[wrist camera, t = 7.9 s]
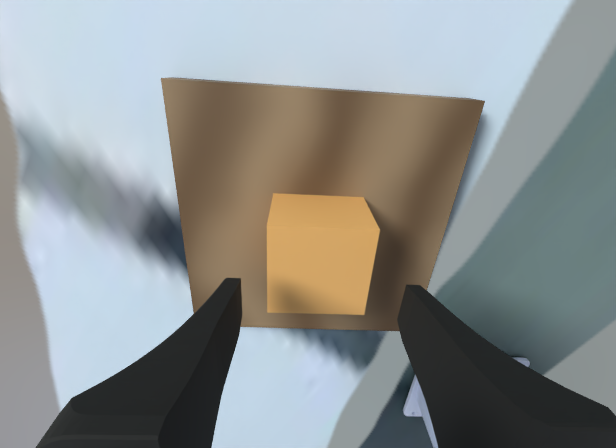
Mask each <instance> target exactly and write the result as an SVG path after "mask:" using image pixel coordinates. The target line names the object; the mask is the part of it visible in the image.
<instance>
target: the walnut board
mask: <svg viewBox="0 0 616 448" xmlns="http://www.w3.org/2000/svg"><path fill="white" fill-rule="evenodd" d="M161 82H162V89H163V96H164V104H165V111H166V118H167V125H168V132H169V139H170V147H171V154H172V161H173V168H174V175H175V182H176V190H177V197H178V204H179V211H180V218H181V225H182V232H183V240H184V247H185V254H186V261H187V268H188V275H189V283H190V290H191V297H192V304H193V311H194V313H195V312H196V311H197V310H198V309H199V308H200V307H201V306H202V305H203V304H204V303H205V302H206V300H207V299H208V298H209V297H210V296H211V295H212V294H213V293H214V291H215V290H216V289H217V288H218V287H219V285H220V284H221V283H222V282H223V280H224V279H225V278H241V293H242V320H241V326H240V327H269V328H305V329H341V330H377V331H400V330H399V326H398V322H397V318H398V314H399V310H400V306H401V303H402V299H403V295H404V291H405V287H406V284H407V285H421V286H422V287H423V288H424V289H425V290H427V288H428V285H429V281H430V278H431V275H432V272H433V268H434V265H435V262H436V259H437V255H438V252H439V249H440V246H441V242H442V239H443V236H444V233H445V229H446V226H447V223H448V220H449V216H450V213H451V210H452V207H453V203H454V200H455V197H456V194H457V190H458V187H459V184H460V181H461V177H462V174H463V171H464V168H465V164H466V161H467V158H468V155H469V151H470V148H471V145H472V142H473V138H474V135H475V132H476V129H477V125H478V122H479V119H480V116H481V112H482V109H483V106H484V103H485V101H482V100H476V99H470V98H456V97H442V96H428V95H414V94H399V93H385V92H371V91H357V90H343V89H328V88H314V87H300V86H286V85H272V84H257V83H243V82H229V81H215V80H201V79H186V78H161ZM273 193H277V194H300V195H323V196H347V197H364V199H365V201H366V203H367V205H368V207H369V209H370V211H371V213H372V215H373V217H374V219H375V221H376V223H377V225H378V227H379V229H380V233H379V238H378V243H377V249H376V254H375V259H374V265H373V270H372V276H371V281H370V286H369V292H368V297H367V302H366V308H365V313H364V315H349V314H307V313H267V222H268V217H269V212H270V207H271V202H272V198H273Z"/></svg>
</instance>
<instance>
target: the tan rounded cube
mask: <svg viewBox="0 0 616 448" xmlns="http://www.w3.org/2000/svg"><path fill="white" fill-rule="evenodd" d="M379 233H380V229H379V227H378V225H377V223H376V221H375V219H374V217H373V215H372V213H371V211H370V209H369V207H368V205H367V203H366V201H365V199H364V197H347V196H323V195H300V194H277V193H273V198H272V202H271V207H270V212H269V217H268V222H267V313H307V314H349V315H364V313H365V308H366V302H367V297H368V292H369V286H370V281H371V276H372V270H373V265H374V259H375V254H376V249H377V243H378V238H379Z"/></svg>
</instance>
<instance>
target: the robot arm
mask: <svg viewBox="0 0 616 448" xmlns="http://www.w3.org/2000/svg"><path fill="white" fill-rule="evenodd" d="M241 320H242V293H241V278H225V279H224V280H223V282H222V283H221V284H220V285H219V287H218V288H217V289H216V290H215V291H214V293H213V294H212V295H211V296H210V297H209V298H208V299H207V300H206V302H205V303H204V304H203V305H202V306H201V307H200V308H199V309H198V310H197V311H196V312H195V313H194V314H193V315H192V316H191V317H190V318H189V319H188V320H187V321H186V322H185V323H184V324H183V325H182V326H181V327H180V328H179V329H177V330H176V331H175V332H174V333H173V334H172V335H171V336H169V337H168V338H167V339H166V340H165V341H163V342H162V343H161V344H159V345H158V346H157V347H155V348H154V349H153V350H151V351H150V352H149V353H147V354H146V355H145V356H143V357H142V358H140V359H139V360H137V361H136V362H134V363H133V364H131V365H130V366H128V367H127V368H125V369H123V370H122V371H120V372H118V373H117V374H115V375H113V376H112V377H110V378H108V379H107V380H105V381H103V382H101V383H99V384H97V385H96V386H94V387H92V388H90V389H88V390H86V391H84V392H83V393H81V394H79V395H77V396H75V397H73V398H71V400H70V401H69V402H68V404H67V405H66V406H65V407H64V408H63V410H62V411H61V412H60V413H59V415H58V416H57V418H56V419H55V421H54V422H53V424H52V425H51V426H50V428H49V429H48V431H47V432H46V433H45V435H44V436H43V438H42V439H41V441H40V442H39V444H38V445H37V446H36V448H211V446H212V441H213V435H214V430H215V425H216V420H217V415H218V410H219V405H220V400H221V395H222V392H223V388H224V384H225V381H226V377H227V374H228V371H229V367H230V364H231V361H232V357H233V354H234V351H235V347H236V344H237V340H238V337H239V332H240V326H241ZM397 322H398V326H399V330H400V334H401V338H402V341H403V344H404V347H405V349H406V352H407V354H408V357H409V360H410V362H411V365H412V367H413V370H414V372H415V376H414V379H413V382H412V385H411V388H410V391H409V394H408V397H407V400H406V403H405V406H404V409H403V412H404V414H405V415H406V416H422V417H423V419H424V422H425V425H426V428H427V431H428V433H429V436H430V439H431V442H432V445H433V447H434V448H616V416H615V415H614V413H613V412H612V411H611V410H610V409H609V408H608V407H606V406H604V405H602V404H600V403H597V402H595V401H593V400H591V399H588V398H586V397H584V396H582V395H580V394H578V393H576V392H573V391H571V390H569V389H567V388H565V387H563V386H561V385H559V384H558V383H556V382H554V381H552V380H550V379H548V378H546V377H544V376H542V375H541V374H539V373H537V372H535V371H533V370H532V369H530V368H528V367H529V365H530V362H529V361H528V359H527V358H521V357H510V356H509V355H507V354H506V353H504V352H503V351H501V350H500V349H498V348H497V347H495V346H494V345H492V344H491V343H489V342H488V341H487V340H485V339H484V338H482V337H481V336H480V335H478V334H477V333H476V332H475V331H473V330H472V329H471V328H469V327H468V326H467V325H466V324H464V323H463V322H462V321H461V320H460V319H458V318H457V317H456V316H455V315H454V314H453V313H451V312H450V311H449V310H448V309H447V308H446V307H445V306H443V305H442V304H441V303H440V302H439V301H438V300H437V299H436V298H434V297H433V296H432V295H431V294H430V293H429V292H428V291H427V290H425V289H424V288H423V287H422V286H421V285H407V284H406V287H405V291H404V295H403V299H402V303H401V306H400V310H399V314H398V318H397Z"/></svg>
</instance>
